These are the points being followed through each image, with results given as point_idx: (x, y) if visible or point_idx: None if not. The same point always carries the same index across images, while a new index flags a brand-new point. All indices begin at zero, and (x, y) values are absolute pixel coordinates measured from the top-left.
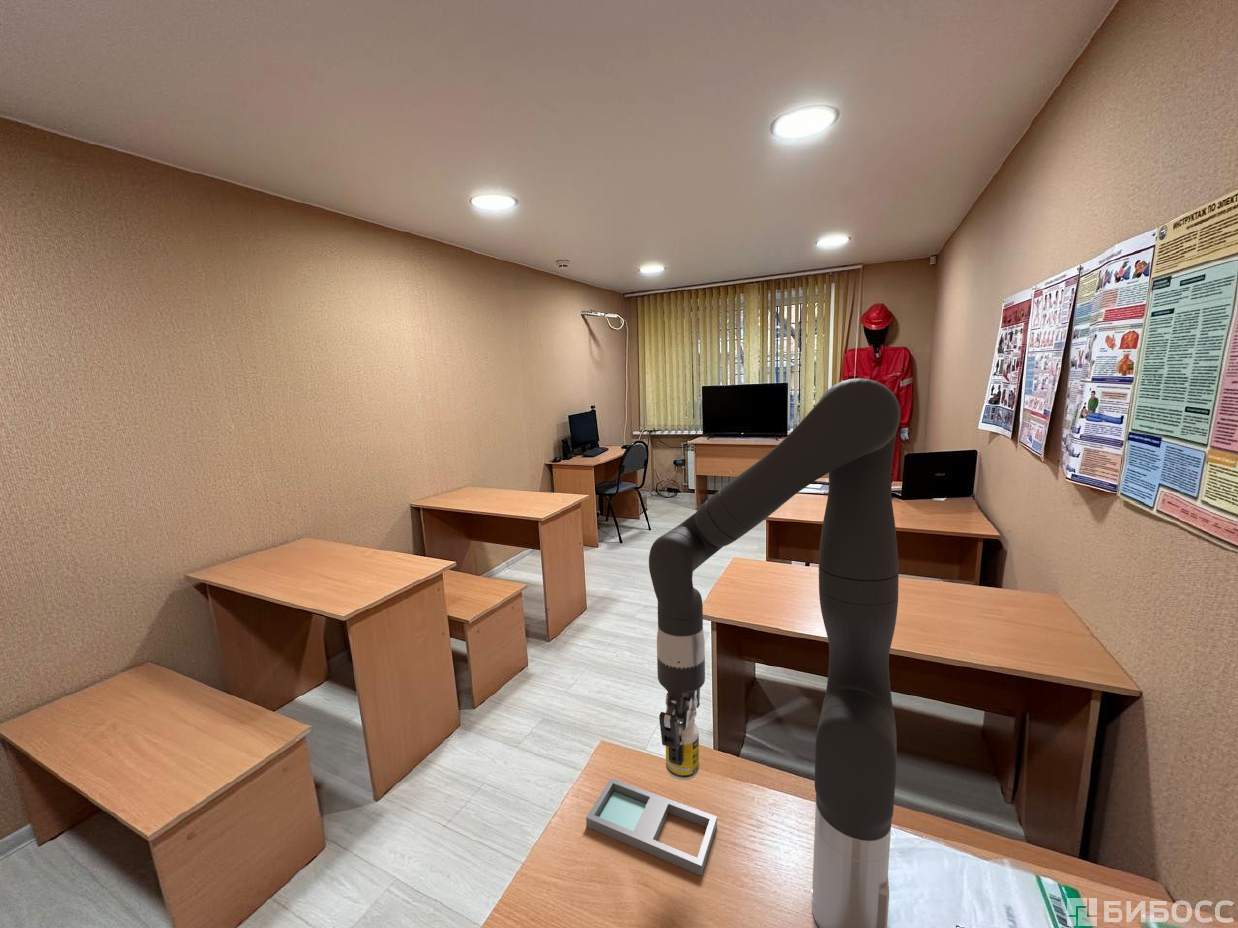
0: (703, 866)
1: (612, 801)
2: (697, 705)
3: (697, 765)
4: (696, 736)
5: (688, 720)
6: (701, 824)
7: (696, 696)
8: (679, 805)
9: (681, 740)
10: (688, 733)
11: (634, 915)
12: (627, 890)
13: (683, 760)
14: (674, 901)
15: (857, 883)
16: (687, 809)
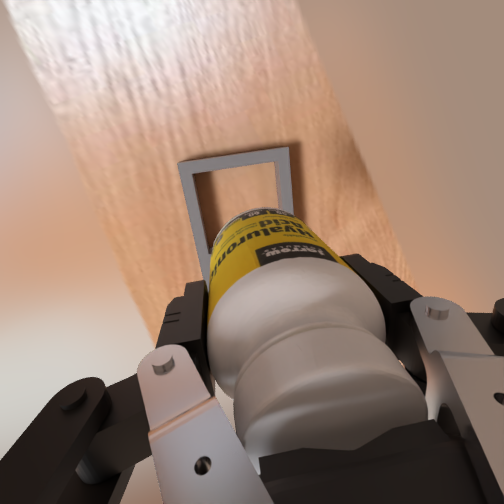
0: (273, 148)
1: None
2: (99, 397)
3: (270, 214)
4: (313, 266)
5: (461, 390)
6: (196, 187)
7: (57, 485)
8: (199, 236)
9: (463, 315)
10: (349, 311)
11: (378, 206)
12: (353, 232)
13: (344, 257)
14: (339, 167)
15: None
16: (198, 220)
